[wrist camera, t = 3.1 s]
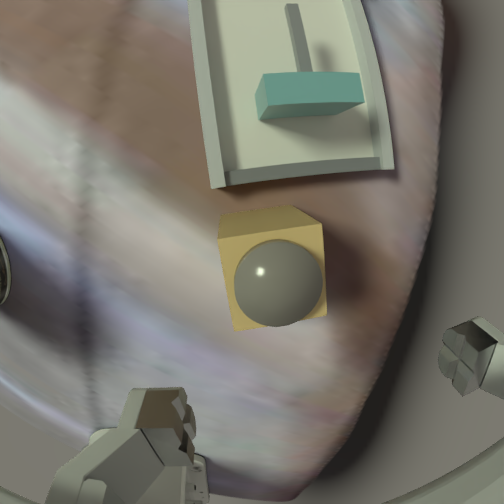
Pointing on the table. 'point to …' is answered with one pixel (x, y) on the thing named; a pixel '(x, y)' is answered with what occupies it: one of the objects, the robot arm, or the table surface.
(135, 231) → the table surface
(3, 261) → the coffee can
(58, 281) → the table surface
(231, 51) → the tray
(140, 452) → the robot arm
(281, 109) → the pusher
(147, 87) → the table surface
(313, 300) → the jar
